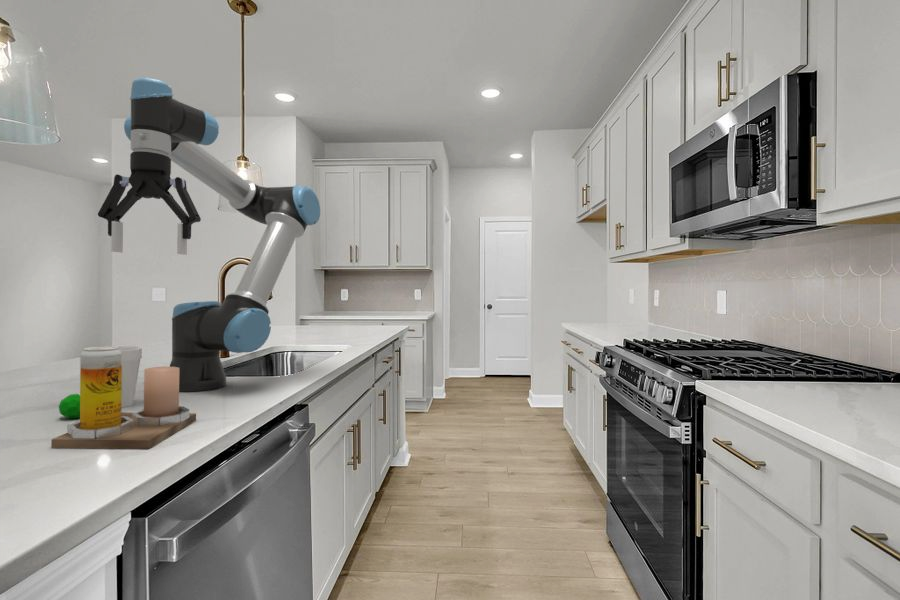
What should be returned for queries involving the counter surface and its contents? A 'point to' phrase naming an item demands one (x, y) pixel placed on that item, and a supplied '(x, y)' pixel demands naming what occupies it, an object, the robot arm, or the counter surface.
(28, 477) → the counter surface
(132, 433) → the pin board
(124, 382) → the foam cup
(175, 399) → the pin
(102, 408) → the beer can
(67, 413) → the polyhedron
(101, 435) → the socket collars
